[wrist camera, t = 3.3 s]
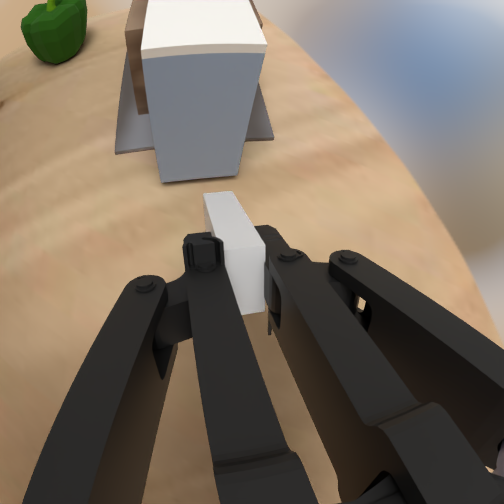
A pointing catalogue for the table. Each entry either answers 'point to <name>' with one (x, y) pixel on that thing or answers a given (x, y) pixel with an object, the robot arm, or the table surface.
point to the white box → (200, 83)
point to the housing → (135, 100)
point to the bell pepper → (55, 29)
